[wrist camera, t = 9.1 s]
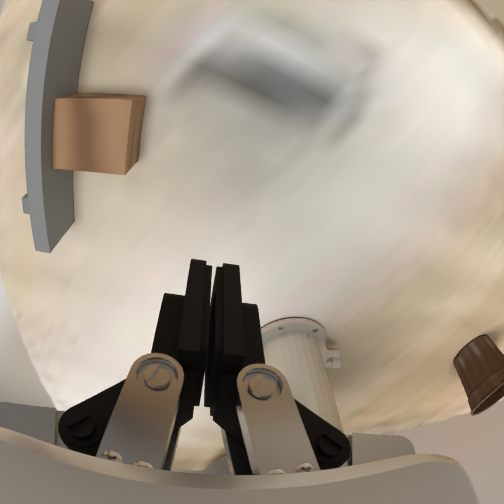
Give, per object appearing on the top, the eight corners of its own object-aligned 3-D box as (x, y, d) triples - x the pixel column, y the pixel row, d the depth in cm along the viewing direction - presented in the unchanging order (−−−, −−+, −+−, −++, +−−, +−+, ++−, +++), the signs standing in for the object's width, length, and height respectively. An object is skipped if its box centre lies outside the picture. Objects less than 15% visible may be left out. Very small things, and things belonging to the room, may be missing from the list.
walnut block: (146, 95, 26) (132, 99, 21) (138, 159, 29) (124, 175, 25) (77, 93, 24) (54, 98, 20) (73, 154, 28) (52, 168, 24)
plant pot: (488, 319, 53) (521, 368, 39) (497, 337, 59) (523, 379, 46) (439, 362, 59) (465, 414, 46) (455, 373, 66) (477, 417, 52)
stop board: (93, 2, 18) (62, -11, 13) (74, 221, 32) (50, 253, 26) (48, 9, 17) (12, 2, 11) (36, 216, 31) (9, 245, 25)
